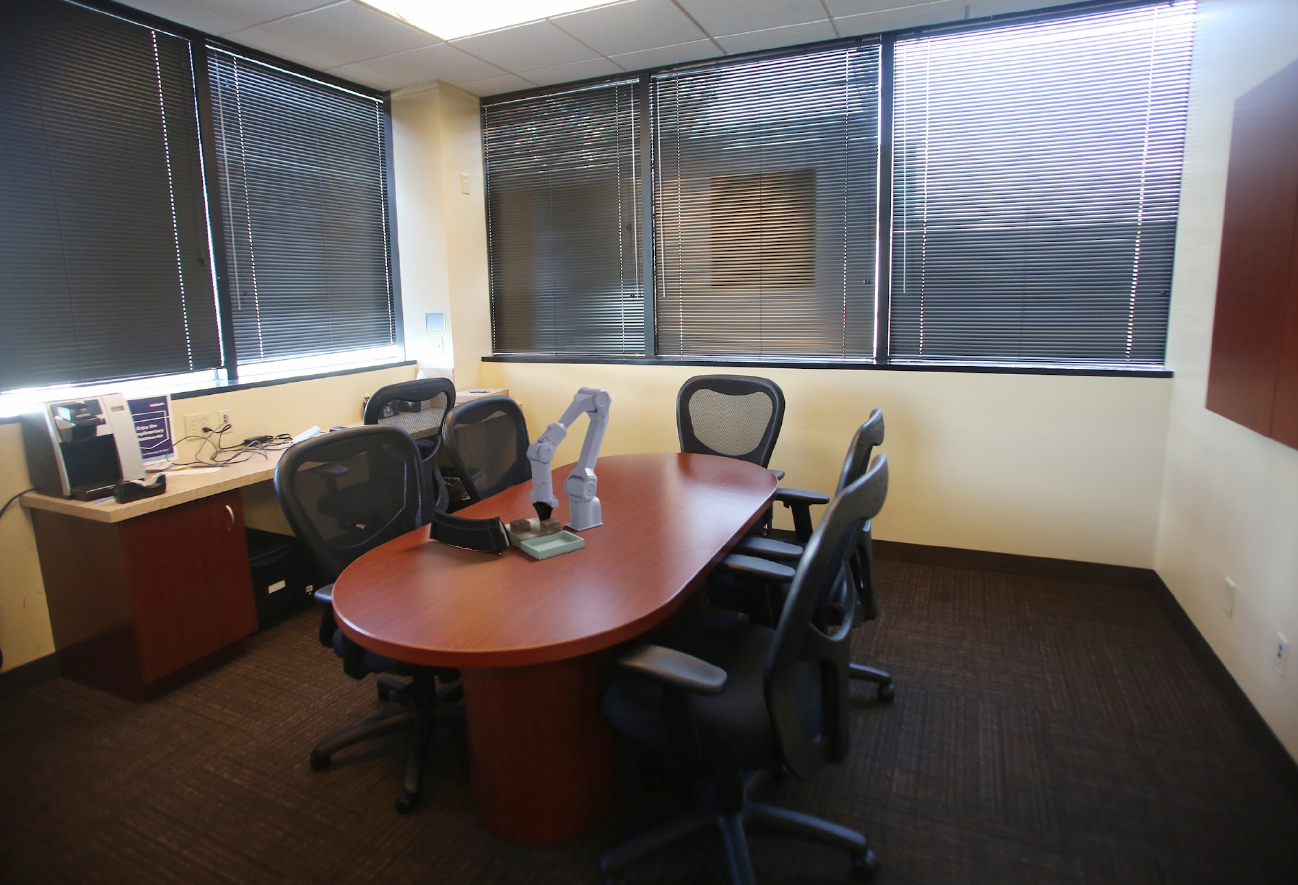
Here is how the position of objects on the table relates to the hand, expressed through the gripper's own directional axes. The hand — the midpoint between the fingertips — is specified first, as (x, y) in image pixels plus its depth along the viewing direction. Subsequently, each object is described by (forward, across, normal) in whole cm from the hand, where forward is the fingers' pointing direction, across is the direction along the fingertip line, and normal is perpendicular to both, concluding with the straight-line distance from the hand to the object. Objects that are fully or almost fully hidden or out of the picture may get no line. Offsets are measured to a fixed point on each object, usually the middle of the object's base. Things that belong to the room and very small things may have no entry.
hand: (545, 525), depth 215 cm
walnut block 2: (+1, +3, 0) cm, 4 cm away
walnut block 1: (+1, -3, -7) cm, 8 cm away
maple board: (+4, -4, -4) cm, 6 cm away
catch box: (+4, +10, -3) cm, 12 cm away
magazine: (+4, -7, -21) cm, 23 cm away
